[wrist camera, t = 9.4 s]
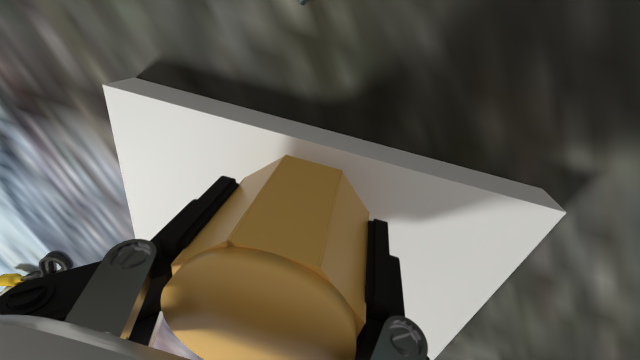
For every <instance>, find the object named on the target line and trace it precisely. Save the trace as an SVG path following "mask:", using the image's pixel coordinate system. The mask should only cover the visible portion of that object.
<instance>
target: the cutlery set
mask: <svg viewBox="0 0 640 360" xmlns="http://www.w3.org/2000/svg"><path fill="white" fill-rule="evenodd" d="M308 1H309V0H298V2H299V4H301V5H305V4H306V3H307V2H308Z"/></svg>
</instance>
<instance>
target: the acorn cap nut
mask: <svg viewBox="0 0 640 360" xmlns="http://www.w3.org/2000/svg"><path fill="white" fill-rule="evenodd" d="M368 221H369V212H368V210H367V209H366V207H365V206H364V204H363V202H362V201H361V199H360V198H359V196H358V195H357V193H356V192H355V190H354V189H353V187H352V185H351V184H350V182H349V181H348V179H347V178H346V176H345V175H344V173H343V170H340V169H336V168H332V167H329V166H325V165H321V164H318V163H314V162H311V161H307V160H303V159H300V158H296V157H292V156H289V155H285V156H283V157H281V158H279V159H278V160H276V161H274V162H272V163H270V164H269V165H267V166H265V167H263V168H262V169H260V170H258V171H256V172H254V173H253V174H251V175H249V176H247V177H245V178H244V179H243V180H242V181H241V182H240V184H239V186H238V187H237V188H236V190H235V191H234V192H233V193H232V194H231V196H230V197H229V198H228V199H227V200H226V201H225V203H224V204H223V205H222V206H221V207H220V209H219V210H218V211H217V212H216V213H215V214H214V216H213V217H212V218H211V219H210V220H209V222H208V223H207V224H206V225H205V226H204V228H203V229H202V230H201V231H200V232H199V233H198V235H197V236H196V237H195V238H194V239H193V241H192V242H191V243H190V244H189V245H188V247H187V248H186V249H183V251H182V252H181V253H180V254H179V255H178V256H177V258H176V259H175V260H174V261H173V262H172V264H171V267H172V274H173V276H172V278H171V279H170V280H169V282H168V283H167V284H166V285H165V287H164V289H163V291H162V294H161V309H162V313H163V316H164V318H165V320H166V322H167V324H168V326H169V327H170V329H171V330H172V331H173V333H174V334H175V335H176V336H177V338H178V339H179V340H180V341H181V342H182V343H183V344H184V345H186V346H187V347H188V348H189V349H190V350H191V351H193V352H194V353H195V354H197V355H198V356H200V357H201V358H203V359H204V360H355V354H356V340H357V337H358V335H359V333H360V331H361V330H362V328H363V326H364V324H366V303H365V286H366V262H367V237H368Z"/></svg>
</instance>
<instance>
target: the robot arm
mask: <svg viewBox="0 0 640 360" xmlns="http://www.w3.org/2000/svg"><path fill="white" fill-rule="evenodd" d="M238 186H239V183H236V179H234V178H230V177H227V176H221V177H220V178H219V179H218V180H217V181H216V182H215V183H214V184H213V185H212V186H211V187H210V188H209V189H208V190H207V191H205V192H204V193H203V194H202V195H201V196H200V197H199V198H198V199H193V200H192V201H191V202H189V203H188V204H187V205H186V206H185V207H184V208H183V209H182V210H181V211H180V212H179V213H178V214H177V215H176V216H175V217H174V218H173V219H172V220H171V221H170V222H169V223H168V224H167V225H166V226H165V227H164V228H162V229H161V230H160V231H159V232H158V233H157V234H156V235H155V236H154V237H153V238H152V239H151V240H150V241H148V240H145V239H131V240H128V241H124V242H122V243H120V244H117V245H116V246H114V247H113V248H111V249H110V250H109V251H108V253H107V254H106V255H105V257H104V258H103V260H102V261H100V262H96V263H92V264H88V265H84V266H81V267H77V268H73V269H69V270H65V271H62V272H58V273H54V274H50V275H46V276H43V277H39V278H35V279H31V280H28V281H25V282H23V283H20V284H18V285H16V286H14V287H12V288H10V289H9V290H8V291H6V292H5V293H3V294H2V295H1V296H0V360H190V359H187V358H184V357H180V356H177V355H174V354H171V353H168V352H164V351H161V350H158V349H155V348H153V345H154V342H155V339H156V336H157V333H158V330H159V327H160V324H161V321H162V318H163V313H162V309H161V294H162V291H163V289H164V287H165V285H166V284H167V283H168V282H169V280H170V279H171V278H172V276H173V274H172V267H171V264H172V262H173V261H174V260H175V259H176V258H177V256H178V255H179V254H180V253H181V252H182V251H183V249H186V248H187V247H188V245H189V244H190V243H191V242H192V241H193V239H194V238H195V237H196V236H197V235H198V233H199V232H200V231H201V230H202V229H203V228H204V226H205V225H206V224H207V223H208V222H209V220H210V219H211V218H212V217H213V216H214V214H215V213H216V212H217V211H218V210H219V209H220V207H221V206H222V205H223V204H224V203H225V201H226V200H227V199H228V198H229V197H230V196H231V194H232V193H233V192H234V191H235V190H236V188H237V187H238ZM365 303H366V324H364V326H363V328H362V330H361V331H360V333H359V335H358V337H357V340H356V354H355V360H430V358H429V357H428V356H427V353H428V343H427V340H426V337H425V335H424V333H423V331H422V330H421V329H420V328H419V326H418V325H417V324H416V323H414V322H413V321H412V320H410V319H408V318H406V317H405V309H404V299H403V289H402V279H401V269H400V260H399V258H398V257H396V256H392V255H390V251H389V234H388V222H386V221H382V220H379V219H374V220H373V221H370V220H369V221H368V237H367V262H366V286H365Z"/></svg>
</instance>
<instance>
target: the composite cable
mask: <svg viewBox="0 0 640 360" xmlns="http://www.w3.org/2000/svg"><path fill="white" fill-rule="evenodd" d="M53 261H54V262H56V263H58V264H59V265H60V266H61V269H60V270H59V271H57V272H54V271H53V268H54V264H53ZM39 268H40V271H36V272H34V273H30V274H28V275H26V276H22V275H20V274H3V275H1V276H0V286H7V287H6V288H4V289H3V291H2V292H0V295H2V294H3V293H5V292H6V291H8V290H9V289H10V288H12V287H14V286H16V285H18V284H20V283H23V282H25V281H28V280H31V279H35V278H39V277H43V276H46V275H50V274H54V273H58V272H62V271H65V270H69V268H70V263H69V261H68V260H67V259H66V258H65V257H64V256H63V255H62V254H60V253H58V252H50V253H48V254H47V255H46V256H45V257H44V258H43V259H41V260H40V262H39Z"/></svg>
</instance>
